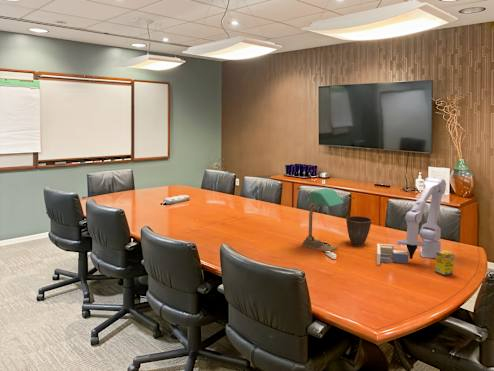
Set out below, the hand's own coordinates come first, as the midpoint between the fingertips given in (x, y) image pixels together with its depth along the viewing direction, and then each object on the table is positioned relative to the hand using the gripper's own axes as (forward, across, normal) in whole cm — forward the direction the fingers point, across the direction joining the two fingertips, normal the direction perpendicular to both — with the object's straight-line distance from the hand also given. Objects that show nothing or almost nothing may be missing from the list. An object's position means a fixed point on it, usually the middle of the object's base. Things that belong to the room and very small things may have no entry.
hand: (410, 258), depth 229 cm
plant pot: (+3, -28, +26) cm, 39 cm away
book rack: (+2, -12, +1) cm, 13 cm away
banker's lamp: (+3, -49, +12) cm, 51 cm away
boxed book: (+2, -6, 0) cm, 6 cm away
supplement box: (+3, +15, -12) cm, 19 cm away
